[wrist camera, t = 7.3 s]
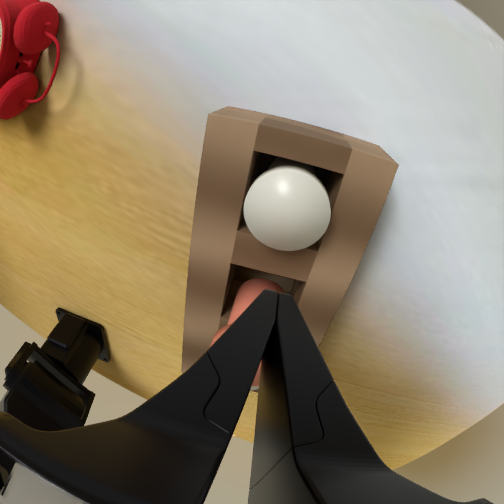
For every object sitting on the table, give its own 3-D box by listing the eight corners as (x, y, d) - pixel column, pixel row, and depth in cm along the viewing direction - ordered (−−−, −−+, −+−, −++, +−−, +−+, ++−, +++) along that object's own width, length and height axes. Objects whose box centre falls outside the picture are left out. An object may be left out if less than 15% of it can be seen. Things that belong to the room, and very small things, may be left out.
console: (293, 361, 27) (290, 398, 24) (195, 337, 28) (181, 372, 24) (381, 146, 17) (401, 165, 13) (228, 106, 17) (208, 114, 13)
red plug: (284, 327, 20) (276, 392, 16) (224, 312, 20) (204, 374, 16) (302, 280, 18) (298, 348, 13) (234, 263, 18) (211, 327, 14)
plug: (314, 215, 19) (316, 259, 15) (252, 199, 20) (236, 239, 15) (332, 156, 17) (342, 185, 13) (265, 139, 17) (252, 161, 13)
